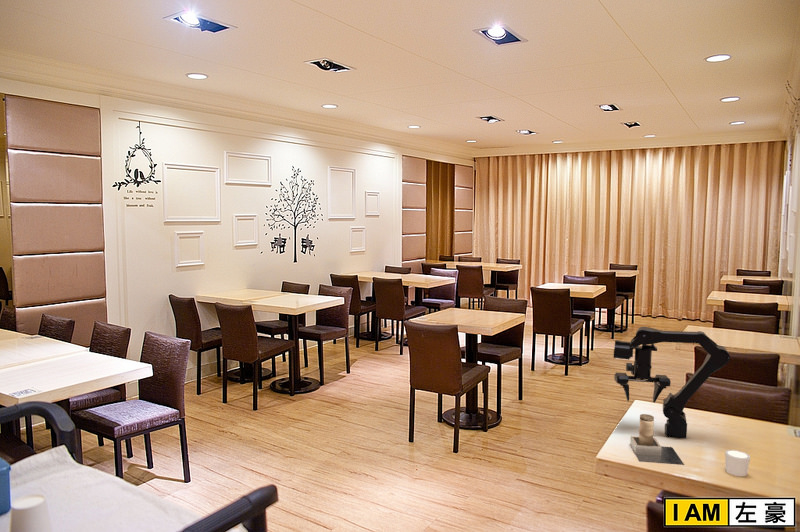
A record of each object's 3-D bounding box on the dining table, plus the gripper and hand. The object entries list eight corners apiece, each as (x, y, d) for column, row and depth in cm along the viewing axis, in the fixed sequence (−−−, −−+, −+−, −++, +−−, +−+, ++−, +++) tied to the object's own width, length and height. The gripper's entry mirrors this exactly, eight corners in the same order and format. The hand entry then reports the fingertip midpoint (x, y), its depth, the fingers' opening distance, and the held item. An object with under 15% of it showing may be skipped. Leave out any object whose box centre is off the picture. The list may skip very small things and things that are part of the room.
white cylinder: (748, 482, 172) (750, 460, 171) (723, 476, 176) (724, 455, 175) (748, 473, 178) (750, 452, 177) (724, 468, 182) (725, 447, 181)
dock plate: (672, 449, 196) (672, 438, 195) (684, 467, 182) (685, 456, 182) (629, 446, 198) (630, 436, 198) (638, 464, 185) (639, 452, 184)
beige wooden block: (653, 449, 194) (655, 415, 193) (650, 453, 190) (652, 419, 189) (640, 446, 196) (641, 413, 195) (637, 450, 193) (638, 417, 192)
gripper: (663, 356, 215) (661, 396, 216) (612, 354, 218) (610, 393, 220) (672, 364, 204) (669, 406, 205) (618, 361, 207) (616, 402, 209)
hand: (640, 401), depth 210 cm, fingers open, 9 cm apart
